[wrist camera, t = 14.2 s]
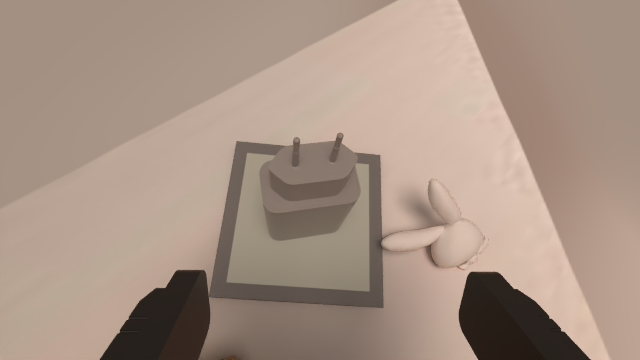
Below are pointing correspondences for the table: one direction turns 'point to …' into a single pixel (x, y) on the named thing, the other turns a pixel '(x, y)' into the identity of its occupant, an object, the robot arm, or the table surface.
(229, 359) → the walnut block
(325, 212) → the power adapter
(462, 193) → the table surface
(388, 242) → the rabbit figurine
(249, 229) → the pad
